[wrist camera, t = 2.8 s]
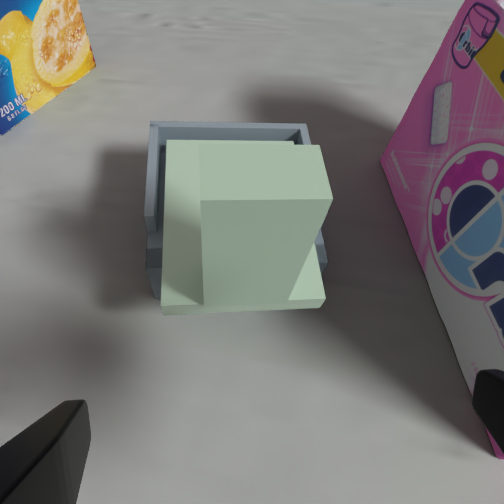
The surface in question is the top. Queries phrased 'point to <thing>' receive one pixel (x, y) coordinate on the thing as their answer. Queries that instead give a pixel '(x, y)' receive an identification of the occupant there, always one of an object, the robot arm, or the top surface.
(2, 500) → the robot arm
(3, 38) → the beverage box
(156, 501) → the top surface
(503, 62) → the gum box
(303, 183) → the pale green l-shaped piece
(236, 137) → the tub
